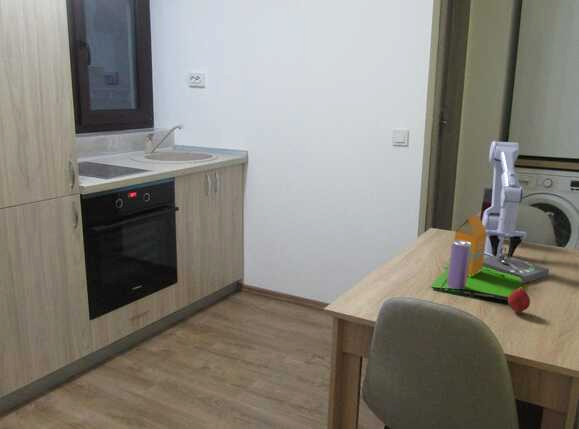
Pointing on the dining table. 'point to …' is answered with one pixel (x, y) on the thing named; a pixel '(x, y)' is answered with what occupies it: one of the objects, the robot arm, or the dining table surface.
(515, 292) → the red round lump
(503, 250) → the dial pointer
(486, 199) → the toy vending machine
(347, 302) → the dining table surface
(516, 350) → the dining table surface
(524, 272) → the dial plate
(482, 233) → the orange juice
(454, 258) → the beverage can
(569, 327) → the dining table surface
